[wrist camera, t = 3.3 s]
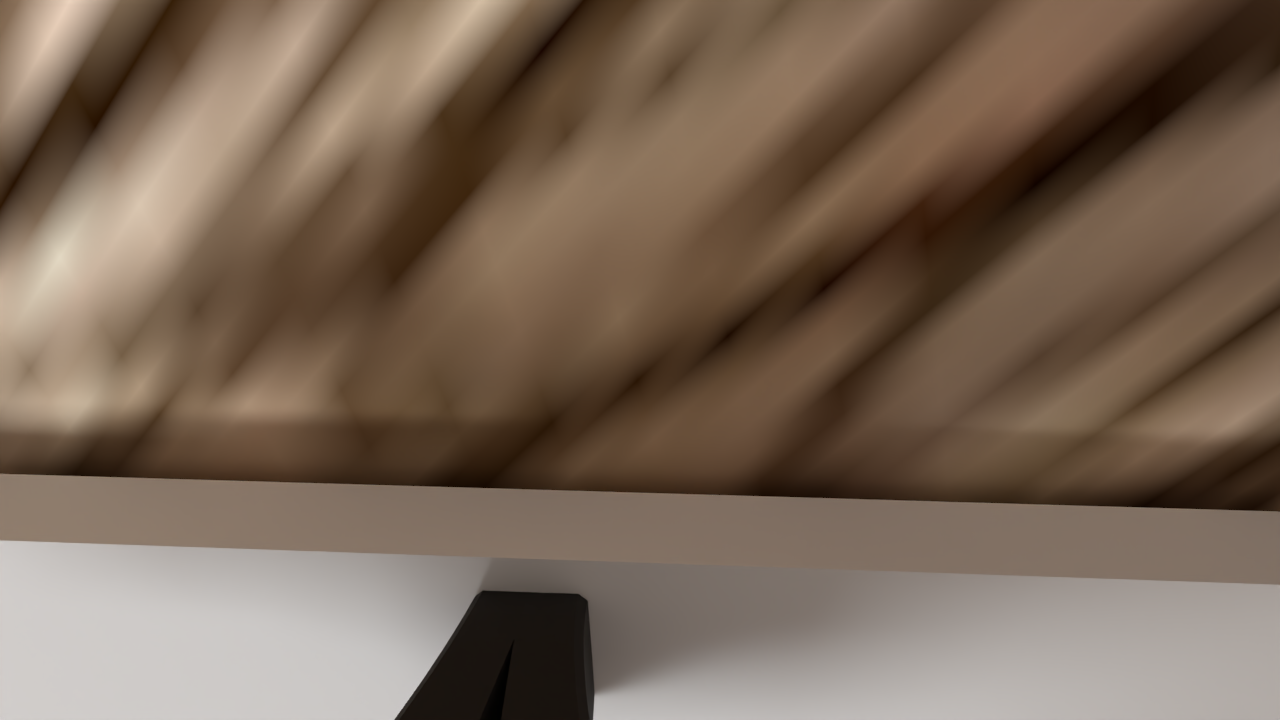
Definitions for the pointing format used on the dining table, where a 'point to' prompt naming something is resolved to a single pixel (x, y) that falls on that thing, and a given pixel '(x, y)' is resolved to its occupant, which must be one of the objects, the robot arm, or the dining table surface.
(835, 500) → the grey plank
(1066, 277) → the dining table surface
